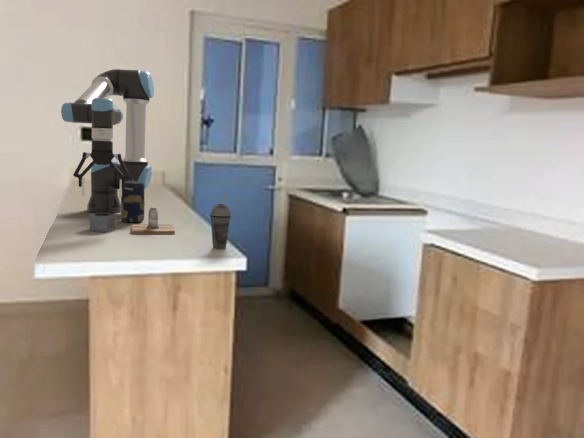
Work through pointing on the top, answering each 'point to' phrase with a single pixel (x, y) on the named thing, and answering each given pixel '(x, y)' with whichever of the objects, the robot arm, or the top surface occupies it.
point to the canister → (132, 201)
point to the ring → (102, 222)
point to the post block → (152, 225)
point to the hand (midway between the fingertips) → (102, 196)
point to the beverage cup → (220, 225)
